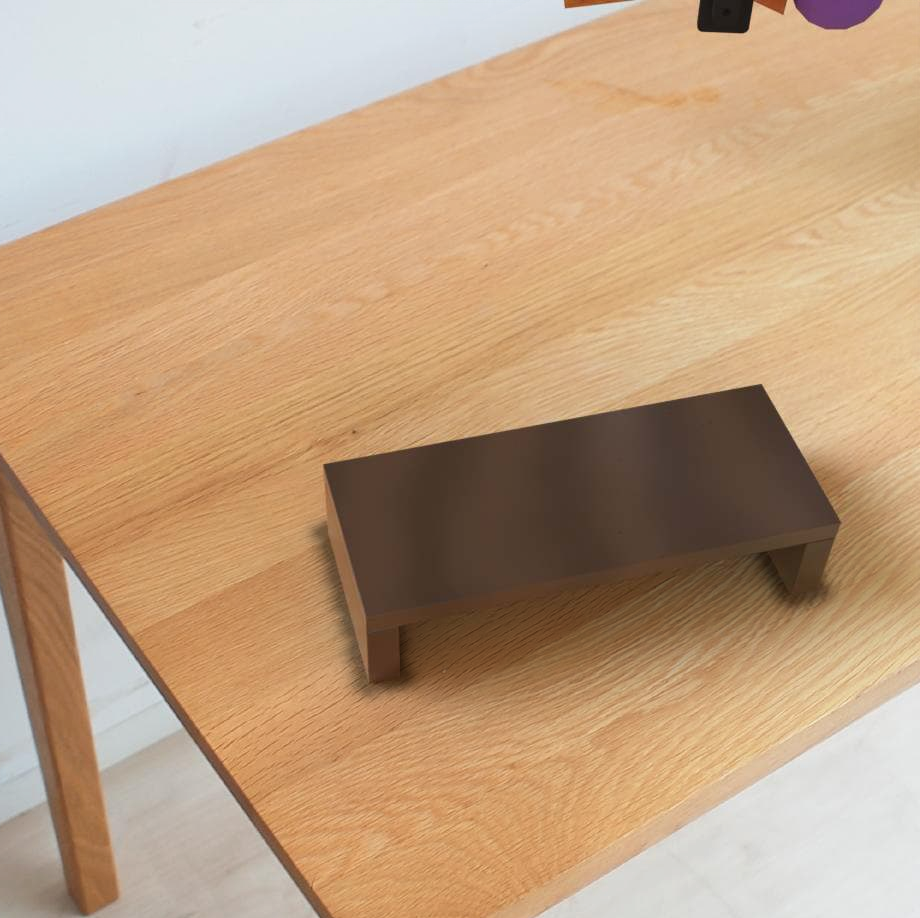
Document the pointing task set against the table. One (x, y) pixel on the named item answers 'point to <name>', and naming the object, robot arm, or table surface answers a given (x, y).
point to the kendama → (821, 3)
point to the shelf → (570, 511)
